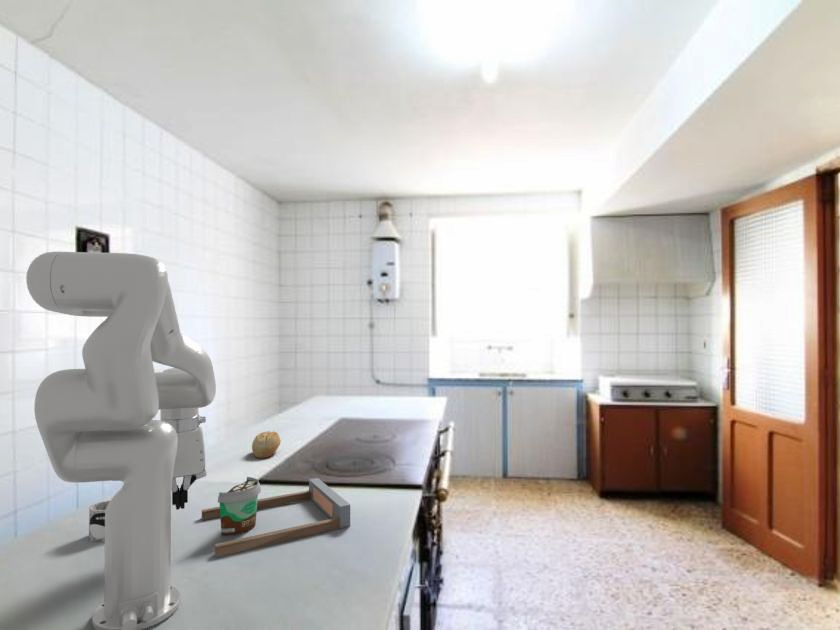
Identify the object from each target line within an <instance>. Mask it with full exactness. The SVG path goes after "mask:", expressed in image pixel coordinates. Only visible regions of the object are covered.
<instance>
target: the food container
mask: <svg viewBox="0 0 840 630" xmlns="http://www.w3.org/2000/svg"><path fill="white" fill-rule="evenodd" d="M261 492H262V488H261V484H260V482H259V480H258V479H257V478H256V477H252V476H251V477H250V476H246V481H245V480H244V482H242V483H240V484H238V485H233V487H232V488H230V489H229V490H228V491H227V492H218V497H217V503H219V507H220V517H219V518H220V533H221V534H220V535H221V536H222V537H227V536H228V537H229V536H231V537H232V536H237V535H243V534H245V533H247V532H250V531H251V530H254V528H255V527H256V525H257V524H256V523H257V522H256V521H257V500H259V497H258V496H259V494H260V493H261Z"/></svg>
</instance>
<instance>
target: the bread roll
mask: <svg viewBox="0 0 840 630" xmlns="http://www.w3.org/2000/svg"><path fill="white" fill-rule="evenodd" d="M281 442H282V441H281V437H280V435H279V433H278V432H276V431H274V430H273V431H272V432H271V431H263V432H260V433H258V434H257V435H256V436H255V438H254V439H253V441H252V442H251V443H252V444H251V450H252V453H253V454H254V456H255V457H256V458H257V459H266V458H268V457H270V456H273V454H274V453H276V451H277V450H278V449H279V447H280V445H281Z"/></svg>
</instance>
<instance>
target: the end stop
mask: <svg viewBox="0 0 840 630" xmlns="http://www.w3.org/2000/svg"><path fill="white" fill-rule="evenodd" d="M308 490H309V491H310V492H311V499H310V501H312V502H313V503H314V505H316V506H317V507H318V508H319V509H320V510H321V511H322V512H323V513H324V515H326V516H327V517H328V518H329V519H333V518H337V517H338V518H339V519H340V528H339V529H343V528H347V527H350V526H351V504H350V503H349V502H348V501H347V500H346V499H344V498H343V497H342V496H340V495H339V494H338V493H337V492H336V491H334V490H333V489H332V488H331V487H330V486H328V485H327V483H326V482H323V481H322V480H321V479H320V478H319V477H315V478H308Z"/></svg>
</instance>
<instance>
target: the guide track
mask: <svg viewBox="0 0 840 630" xmlns="http://www.w3.org/2000/svg"><path fill="white" fill-rule="evenodd" d="M308 500H309V501H311V492H310V491H309V489H308V490H303V491H297V492H293V493H292V492H291V493H286V494H281V495H276V496H271V497H265V498H260V499H259V498H258V500H257V510H262V509H268V508H272V507H277V506H283V505H289V504H294V503H298V502H304V501H305V502H306V501H308ZM216 518H220V506H217V507H216V506H215V507H211V508H204V509H201V520H202V521H204V520H205V521H206V520H210V519H216ZM338 529H341V528H340V519H339V518H338V517H337V518H333V519H330V518H329V519H328V518H327V519H325V520H319V521H315V522H311V523H307V524H301V525H296V526H292V527H288V528H284V529H278V530H274V531H269V532H265V533H259V534H256V535H251V536H246V537H242V538H238V539H233V540H229V541H224V542H223V541H222V542H220V543H215V544H214V555H215V557H216V558H217V557H223V556H225V555H229V554H236V553H239V552H244V551H248V550H251V549H257V548H261V547H265V546H269V545H273V544H278V543H282V542H288V541H290V540H296V539H299V538H303V537H308V536H313V535H317V534H321V533H325V532H330V531H333V530H334V531H335V530H338Z"/></svg>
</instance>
